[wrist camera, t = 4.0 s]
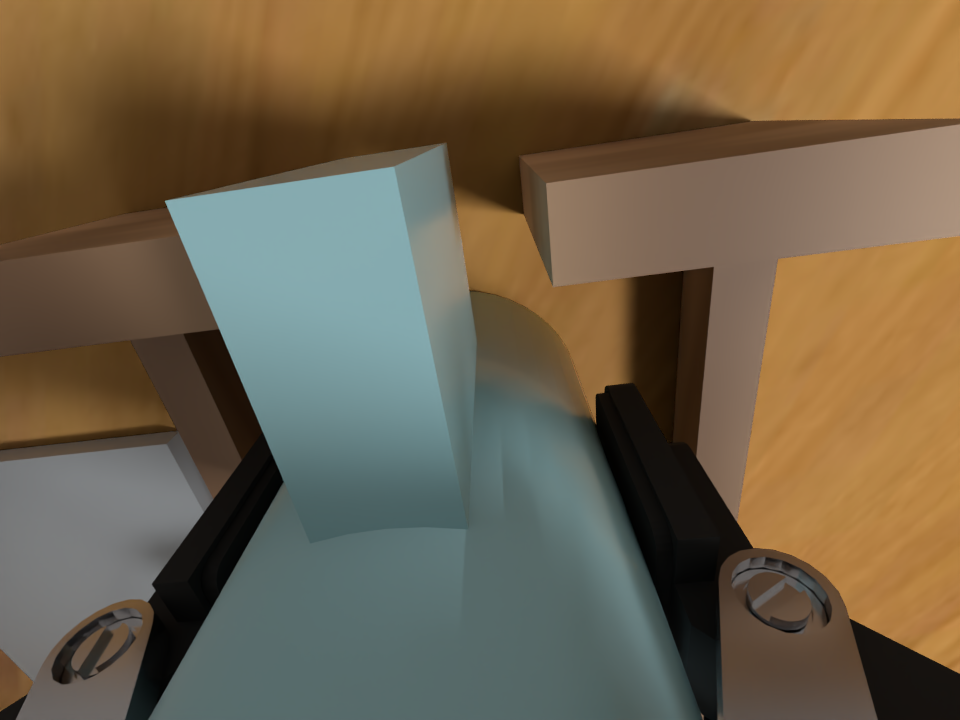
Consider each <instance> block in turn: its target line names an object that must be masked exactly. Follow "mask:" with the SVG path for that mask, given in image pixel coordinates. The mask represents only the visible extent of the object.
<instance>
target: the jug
mask: <svg viewBox="0 0 960 720" xmlns="http://www.w3.org/2000/svg"><path fill="white" fill-rule="evenodd" d="M165 202H166V205H167V207H168V210H169V212H170V214H171V217H172V219H173V221H174V224H175V226H176V228H177V231H178V233H179V235H180V238H181V240H182V243H183V245H184V247H185V250H186V252H187V254H188V257H189V259H190V261H191V264H192V266H193V268H194V271H195V273H196V276H197V278H198V280H199V283H200V285H201V287H202V290H203V292H204V294H205V297H206V299H207V301H208V304H209V306H210V308H211V311H212V313H213V316H214V318H215V320H216V323H217V325H218V327H219V330H220V332H221V334H222V337H223V339H224V341H225V344H226V346H227V349H228V351H229V353H230V356H231V358H232V360H233V363H234V365H235V367H236V370H237V372H238V374H239V377H240V379H241V382H242V384H243V386H244V389H245V391H246V393H247V396H248V398H249V400H250V403H251V405H252V407H253V410H254V412H255V415H256V417H257V419H258V422H259V424H260V426H261V429H262V431H263V433H264V436H265V438H266V440H267V443H268V445H269V448H270V450H271V452H272V455H273V457H274V459H275V462H276V464H277V466H278V469H279V471H280V473H281V476H282V478H283V481H284V482H283V484H282V486H281V487H280V489H279V491H278V493H277V494H276V496H275V498H274V500H273V501H272V503H271V505H270V507H269V508H268V510H267V512H266V514H265V515H264V517H263V519H262V521H261V523H260V524H259V526H258V528H257V530H256V531H255V533H254V535H253V537H252V538H251V540H250V542H249V544H248V545H247V547H246V549H245V551H244V552H243V554H242V556H241V558H240V559H239V561H238V563H237V565H236V566H235V568H234V570H233V572H232V573H231V575H230V577H229V579H228V581H227V582H226V584H225V586H224V588H223V589H222V591H221V593H220V595H219V596H218V598H217V600H216V602H215V603H214V605H213V607H212V609H211V610H210V612H209V614H208V616H207V617H206V619H205V621H204V623H203V624H202V626H201V628H200V630H199V631H198V633H197V635H196V637H195V639H194V640H193V642H192V644H191V646H190V647H189V649H188V651H187V653H186V654H185V656H184V658H183V660H182V661H181V663H180V665H179V667H178V668H177V670H176V672H175V674H174V675H173V677H172V679H171V681H170V682H169V684H168V686H167V688H166V689H165V691H164V693H163V695H162V697H161V698H160V700H159V702H158V704H157V705H156V707H155V709H154V711H153V712H152V714H151V716H150V718H149V719H148V720H703V719H702V716H701V713H700V710H699V708H698V705H697V702H696V699H695V697H694V694H693V691H692V688H691V686H690V683H689V680H688V677H687V674H686V672H685V669H684V666H683V663H682V661H681V658H680V655H679V652H678V650H677V647H676V644H675V641H674V639H673V636H672V633H671V630H670V628H669V625H668V622H667V619H666V616H665V614H664V611H663V608H662V605H661V603H660V600H659V597H658V594H657V592H656V589H655V586H654V583H653V581H652V578H651V575H650V572H649V570H648V567H647V564H646V561H645V559H644V556H643V553H642V550H641V547H640V545H639V542H638V539H637V536H636V534H635V531H634V528H633V525H632V523H631V520H630V517H629V514H628V512H627V509H626V506H625V503H624V501H623V498H622V495H621V492H620V490H619V487H618V484H617V481H616V478H615V476H614V473H613V470H612V467H611V465H610V462H609V459H608V456H607V454H606V451H605V448H604V445H603V443H602V440H601V437H600V434H599V432H598V429H597V426H596V423H595V421H594V418H593V415H592V412H591V409H590V407H589V404H588V401H587V398H586V396H585V393H584V390H583V387H582V385H581V382H580V379H579V376H578V374H577V371H576V368H575V365H574V363H573V360H572V358H571V356H570V353H569V351H568V349H567V347H566V346H565V344H564V343H563V341H562V340H561V338H560V337H559V335H558V334H557V333H556V332H555V331H554V330H553V329H552V327H551V326H550V325H549V324H548V323H546V322H545V321H544V320H543V319H542V318H541V317H539V316H538V315H537V314H535V313H534V312H532V311H531V310H529V309H528V308H526V307H524V306H522V305H520V304H518V303H516V302H514V301H512V300H509V299H506V298H503V297H500V296H497V295H493V294H488V293H483V292H476V291H469V286H468V279H467V273H466V266H465V260H464V253H463V247H462V240H461V234H460V227H459V221H458V214H457V208H456V201H455V195H454V188H453V182H452V175H451V169H450V162H449V156H448V149H447V143H441V144H435V145H428V146H422V147H415V148H408V149H402V150H395V151H389V152H382V153H375V154H369V155H362V156H356V157H349V158H343V159H339V160H334V161H330V162H326V163H322V164H317V165H313V166H309V167H305V168H301V169H296V170H292V171H288V172H284V173H280V174H275V175H271V176H267V177H263V178H259V179H254V180H250V181H246V182H242V183H238V184H233V185H229V186H225V187H221V188H217V189H212V190H208V191H204V192H200V193H195V194H191V195H187V196H183V197H179V198H174V199H170V200H166V201H165Z"/></svg>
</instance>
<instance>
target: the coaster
mask: <svg viewBox="0 0 960 720" xmlns="http://www.w3.org/2000/svg"><path fill="white" fill-rule="evenodd" d="M212 501H213V497H212V495H211V493H210V491H209V490H208V488H207V486H206V484H205V482H204V480H203V478H202V476H201V474H200V472H199V470H198V469H197V467H196V465H195V463H194V461H193V459H192V457H191V455H190V453H189V451H188V450H187V448H186V446H185V444H184V442H183V440H182V438H181V436H180V434H179V432H178V431H172V432H163V433H154V434H145V435H135V436H126V437H117V438H108V439H99V440H90V441H81V442H72V443H62V444H53V445H44V446H35V447H26V448H17V449H8V450H0V649H1V650H2V651H3V652H4V653H5V654H6V655H7V656H8V657H9V658H10V659H11V660H12V661H13V662H14V663H15V664H16V665H17V666H18V667H19V668H20V669H21V670H22V671H23V672H24V673H25V674H26V675H27V676H28V677H29V678H30V679H31V680H32V681H33V682H34V681H35V679H36V676H37V674H38V672H39V670H40V668H41V666H42V664H43V663H44V661H45V659H46V658H47V656H48V655H49V653H50V652H51V650H52V649H53V648H54V647H55V646H56V644H57V643H58V642H59V641H60V640H61V639H62V638H63V637H64V636H65V635H66V634H67V633H68V632H69V631H70V630H72V629H73V628H74V627H75V626H76V625H78V624H79V623H80V622H81V621H83V620H84V619H86V618H87V617H89V616H91V615H92V614H94V613H95V612H97V611H99V610H101V609H103V608H105V607H107V606H109V605H112V604H114V603H117V602H121V601H125V600H129V599H141V600H144V601H146V602H148V601H149V599H150V598H151V597H152V595H153V594H154V592H155V591H156V590H155V589H154V587H153V586H152V583H153V581H154V580H155V579H156V577H157V576H158V575H159V573H160V572H161V571H162V569H163V568H164V566H165V565H166V564H167V562H168V561H169V560H170V558H171V557H172V555H173V554H174V553H175V551H176V550H177V549H178V547H179V546H180V544H181V543H182V542H183V540H184V539H185V538H186V536H187V535H188V533H189V532H190V531H191V529H192V528H193V527H194V525H195V524H196V522H197V521H198V520H199V518H200V517H201V516H202V514H203V513H204V512H205V510H206V509H207V507H208V506H209V505H210V503H211V502H212Z"/></svg>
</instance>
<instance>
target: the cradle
mask: <svg viewBox="0 0 960 720" xmlns="http://www.w3.org/2000/svg"><path fill="white" fill-rule="evenodd" d="M519 164H520V175H521V186H522V197H523V208H524V216H525V218H526V221H527V223H528V226H529V228H530V231H531V233H532V236H533V238H534V241H535V243H536V246H537V248H538V251H539V253H540V256H541V258H542V261H543V263H544V265H545V268H546V270H547V273H548V275H549V278H550V280H551V283H552V285H553V287H557V286H565V285H573V284H581V283H589V282H597V281H605V280H613V279H621V278H629V277H637V276H645V275H653V274H661V273H669V272H677V271H683V286H682V302H681V318H680V334H679V350H678V366H677V381H676V397H675V413H674V429H673V443H676V442H685V443H687V444H688V446H689V447H690V448H691V449H692V451H693V453H694V454H695V456H696V457H697V459H698V461H699V462H700V464H701V465H702V467H703V469H704V470H705V472H706V473H707V475H708V477H709V478H710V480H711V481H712V483H713V485H714V486H715V488H716V489H717V491H718V493H719V494H720V496H721V497H722V499H723V501H724V502H725V504H726V505H727V507H728V509H729V510H730V512H731V513H732V515H733V517H734V518H735V520H736V521H737V519H738V512H739V506H740V499H741V493H742V486H743V480H744V474H745V467H746V461H747V454H748V448H749V441H750V435H751V428H752V422H753V416H754V409H755V403H756V396H757V390H758V383H759V377H760V371H761V364H762V358H763V351H764V345H765V338H766V332H767V325H768V319H769V313H770V306H771V300H772V293H773V287H774V280H775V274H776V268H777V261H778V259H780V258H788V257H796V256H804V255H812V254H820V253H828V252H836V251H843V250H851V249H859V248H867V247H875V246H883V245H891V244H899V243H907V242H915V241H923V240H931V239H939V238H947V237H955V236H960V119H882V120H792V121H750V122H743V123H737V124H730V125H723V126H716V127H710V128H703V129H696V130H689V131H682V132H676V133H669V134H662V135H655V136H649V137H642V138H635V139H628V140H621V141H615V142H608V143H601V144H594V145H588V146H581V147H574V148H567V149H560V150H554V151H547V152H540V153H533V154H527V155H520V156H519ZM128 340H130V341H131V343H132V345H133V347H134V349H135V350H136V352H137V354H138V356H139V358H140V360H141V362H142V364H143V366H144V368H145V370H146V371H147V373H148V375H149V377H150V379H151V381H152V383H153V385H154V387H155V389H156V390H157V392H158V394H159V396H160V398H161V400H162V402H163V404H164V406H165V408H166V410H167V411H168V413H169V415H170V417H171V419H172V421H173V423H174V425H175V427H176V429H177V430H178V432H179V434H180V436H181V438H182V440H183V442H184V444H185V446H186V448H187V450H188V451H189V453H190V455H191V457H192V459H193V461H194V463H195V465H196V467H197V469H198V470H199V472H200V474H201V476H202V478H203V480H204V482H205V484H206V486H207V488H208V490H209V491H210V493H211V495H212V497H213V499H214V498H215V496H216V495H217V494H218V492H219V491H220V490H221V488H222V487H223V485H224V484H225V483H226V481H227V480H228V479H229V477H230V476H231V474H232V473H233V472H234V470H235V469H236V468H237V466H238V465H239V464H240V462H241V461H242V459H243V458H244V457H245V455H246V454H247V453H248V451H249V450H250V448H251V447H252V446H253V444H254V443H255V442H256V440H257V439H258V437H259V436H260V435H261V433H262V432H263V431H262V429H261V426H260V424H259V422H258V419H257V417H256V415H255V412H254V410H253V407H252V405H251V403H250V400H249V398H248V396H247V393H246V391H245V389H244V386H243V384H242V382H241V379H240V377H239V374H238V372H237V370H236V367H235V365H234V363H233V360H232V358H231V356H230V353H229V351H228V349H227V346H226V344H225V341H224V339H223V337H222V334H221V332H220V330H219V327H218V325H217V323H216V320H215V318H214V316H213V313H212V311H211V308H210V306H209V304H208V301H207V299H206V297H205V294H204V292H203V290H202V287H201V285H200V283H199V280H198V278H197V276H196V273H195V271H194V268H193V266H192V264H191V261H190V259H189V257H188V254H187V252H186V250H185V247H184V245H183V243H182V240H181V238H180V235H179V233H178V231H177V228H176V226H175V224H174V221H173V219H172V217H171V214H170V212H169V210H168V207H167V208H161V209H154V210H147V211H140V212H133V213H127V214H122V215H118V216H114V217H110V218H106V219H102V220H98V221H94V222H90V223H86V224H82V225H78V226H74V227H70V228H66V229H62V230H58V231H54V232H50V233H46V234H42V235H37V236H33V237H29V238H25V239H21V240H17V241H13V242H9V243H5V244H1V245H0V357H1V356H9V355H17V354H25V353H33V352H41V351H49V350H57V349H65V348H73V347H81V346H89V345H97V344H104V343H112V342H120V341H128Z"/></svg>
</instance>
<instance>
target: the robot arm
mask: <svg viewBox="0 0 960 720" xmlns="http://www.w3.org/2000/svg"><path fill="white" fill-rule="evenodd" d="M596 426H597V429H598V432H599V434H600V437H601V440H602V443H603V445H604V448H605V451H606V454H607V456H608V459H609V462H610V465H611V467H612V470H613V473H614V476H615V478H616V481H617V484H618V487H619V490H620V492H621V495H622V498H623V501H624V503H625V506H626V509H627V512H628V514H629V517H630V520H631V523H632V525H633V528H634V531H635V534H636V536H637V539H638V542H639V545H640V547H641V550H642V553H643V556H644V559H645V561H646V564H647V567H648V570H649V572H650V575H651V578H652V581H653V583H654V586H655V589H656V592H657V594H658V597H659V600H660V603H661V605H662V608H663V611H664V614H665V616H666V619H667V622H668V625H669V628H670V630H671V633H672V636H673V639H674V641H675V644H676V647H677V650H678V652H679V655H680V658H681V661H682V663H683V666H684V669H685V672H686V674H687V677H688V680H689V683H690V686H691V688H692V691H693V694H694V697H695V699H696V702H697V705H698V708H699V710H700V713H701V716H702V719H703V720H960V674H959V673H957V672H955V671H953V670H951V669H949V668H947V667H945V666H943V665H941V664H939V663H937V662H935V661H933V660H931V659H929V658H927V657H925V656H923V655H921V654H919V653H917V652H915V651H913V650H911V649H909V648H907V647H905V646H903V645H901V644H899V643H897V642H895V641H893V640H891V639H889V638H887V637H885V636H883V635H881V634H879V633H877V632H875V631H873V630H871V629H869V628H867V627H865V626H863V625H861V624H859V623H857V622H855V621H853V620H851V619H849V616H848V612H847V609H846V606H845V604H844V602H843V600H842V598H841V596H840V593H839V591H838V590H837V589H836V588H835V587H834V586H833V585H832V583H831V582H830V581H829V580H828V579H827V578H826V577H825V576H824V575H823V574H822V573H820V572H819V571H818V570H816V569H815V568H814V567H812V566H811V565H810V564H808V563H806V562H804V561H802V560H800V559H798V558H796V557H794V556H792V555H789V554H786V553H782V552H779V551H776V550H771V549H760V548H753V547H752V545H751V544H750V542H749V541H748V539H747V537H746V536H745V534H744V533H743V531H742V529H741V528H740V526H739V525H738V523H737V521H736V520H735V518H734V517H733V515H732V513H731V512H730V510H729V509H728V507H727V505H726V504H725V502H724V501H723V499H722V497H721V496H720V494H719V493H718V491H717V489H716V488H715V486H714V485H713V483H712V481H711V480H710V478H709V477H708V475H707V473H706V472H705V470H704V469H703V467H702V465H701V464H700V462H699V461H698V459H697V457H696V456H695V454H694V453H693V451H692V449H691V448H690V447H689V446H688V444H687V443H685V442H676V443H667V441H666V439H665V437H664V436H663V434H662V432H661V430H660V428H659V427H658V425H657V423H656V421H655V420H654V418H653V416H652V414H651V412H650V411H649V409H648V407H647V405H646V404H645V402H644V400H643V398H642V397H641V395H640V393H639V391H638V389H637V388H636V386H635V385H634V383H628V384H619V385H610V386H606V387H605V392H604V393H600V394H596ZM283 482H284V481H283V478H282V476H281V473H280V471H279V469H278V466H277V464H276V462H275V459H274V457H273V455H272V452H271V450H270V448H269V445H268V443H267V440H266V438H265V436H264V433H263V432H262V433H261V435H260V436H259V437H258V439H257V440H256V442H255V443H254V444H253V446H252V447H251V448H250V450H249V451H248V453H247V454H246V455H245V457H244V458H243V459H242V461H241V462H240V464H239V465H238V466H237V468H236V469H235V470H234V472H233V473H232V474H231V476H230V477H229V479H228V480H227V481H226V483H225V484H224V485H223V487H222V488H221V490H220V491H219V492H218V494H217V495H216V496H215V498H214V499H213V501H212V502H211V503H210V505H209V506H208V507H207V509H206V510H205V512H204V513H203V514H202V516H201V517H200V518H199V520H198V521H197V522H196V524H195V525H194V527H193V528H192V529H191V531H190V532H189V533H188V535H187V536H186V538H185V539H184V540H183V542H182V543H181V544H180V546H179V547H178V549H177V550H176V551H175V553H174V554H173V555H172V557H171V558H170V560H169V561H168V562H167V564H166V565H165V566H164V568H163V569H162V571H161V572H160V573H159V575H158V576H157V577H156V579H155V580H154V581H153V583H152V586H153V587H154V589H155V590H156V591H155V592H154V594H153V595H152V597H151V598H150V599H149V601H148V602H146V601H144V600H141V599H129V600H125V601H121V602H117V603H114V604H112V605H109V606H107V607H105V608H103V609H101V610H99V611H97V612H95V613H94V614H92V615H91V616H89V617H87V618H86V619H84V620H83V621H81V622H80V623H79V624H78V625H76V626H75V627H74V628H73V629H72V630H70V631H69V632H68V633H67V634H66V635H65V636H64V637H63V638H62V639H61V640H60V641H59V642H58V643H57V644H56V646H55V647H54V648H53V649H52V650H51V652H50V653H49V655H48V656H47V658H46V659H45V661H44V663H43V664H42V666H41V668H40V670H39V672H38V674H37V676H36V679H35V681H34V683H33V685H32V687H31V689H30V691H29V693H28V694H27V695H26V696H24V697H22V698H21V699H19V700H18V701H16V702H15V703H13V704H12V705H10V706H8V707H7V708H5V709H4V710H2V711H1V712H0V720H148V719H149V718H150V716H151V714H152V712H153V711H154V709H155V707H156V705H157V704H158V702H159V700H160V698H161V697H162V695H163V693H164V691H165V689H166V688H167V686H168V684H169V682H170V681H171V679H172V677H173V675H174V674H175V672H176V670H177V668H178V667H179V665H180V663H181V661H182V660H183V658H184V656H185V654H186V653H187V651H188V649H189V647H190V646H191V644H192V642H193V640H194V639H195V637H196V635H197V633H198V631H199V630H200V628H201V626H202V624H203V623H204V621H205V619H206V617H207V616H208V614H209V612H210V610H211V609H212V607H213V605H214V603H215V602H216V600H217V598H218V596H219V595H220V593H221V591H222V589H223V588H224V586H225V584H226V582H227V581H228V579H229V577H230V575H231V573H232V572H233V570H234V568H235V566H236V565H237V563H238V561H239V559H240V558H241V556H242V554H243V552H244V551H245V549H246V547H247V545H248V544H249V542H250V540H251V538H252V537H253V535H254V533H255V531H256V530H257V528H258V526H259V524H260V523H261V521H262V519H263V517H264V515H265V514H266V512H267V510H268V508H269V507H270V505H271V503H272V501H273V500H274V498H275V496H276V494H277V493H278V491H279V489H280V487H281V486H282V484H283Z"/></svg>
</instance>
